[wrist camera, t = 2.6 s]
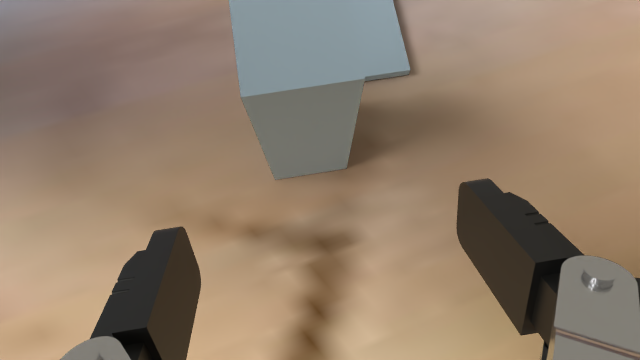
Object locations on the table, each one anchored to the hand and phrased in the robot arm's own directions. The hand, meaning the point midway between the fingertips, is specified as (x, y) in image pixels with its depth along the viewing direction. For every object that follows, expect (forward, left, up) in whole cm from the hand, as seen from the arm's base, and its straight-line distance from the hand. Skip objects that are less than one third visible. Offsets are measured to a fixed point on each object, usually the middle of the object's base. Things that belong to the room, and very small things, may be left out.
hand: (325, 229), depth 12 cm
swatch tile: (+4, +15, -12) cm, 20 cm away
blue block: (0, +8, -12) cm, 14 cm away
